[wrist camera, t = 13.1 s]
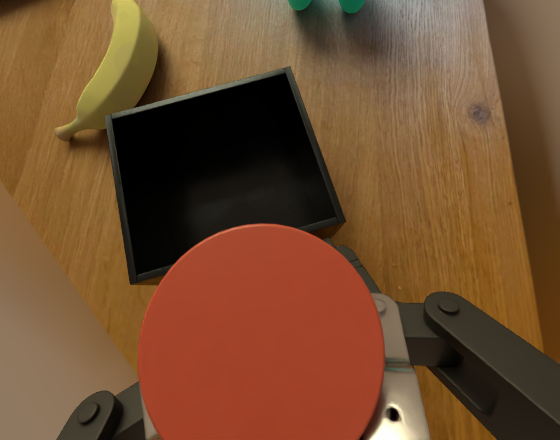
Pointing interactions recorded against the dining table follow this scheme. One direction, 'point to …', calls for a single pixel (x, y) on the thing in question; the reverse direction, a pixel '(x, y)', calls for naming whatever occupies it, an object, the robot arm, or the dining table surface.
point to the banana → (118, 70)
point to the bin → (217, 169)
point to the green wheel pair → (350, 3)
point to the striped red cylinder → (261, 341)
